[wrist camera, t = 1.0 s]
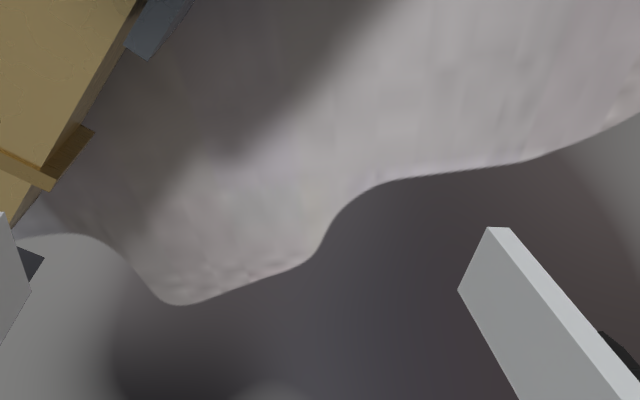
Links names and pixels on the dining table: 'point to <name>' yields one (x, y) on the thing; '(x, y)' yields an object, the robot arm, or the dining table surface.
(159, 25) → the sleeve
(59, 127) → the bar
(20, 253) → the socket
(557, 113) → the dining table surface
